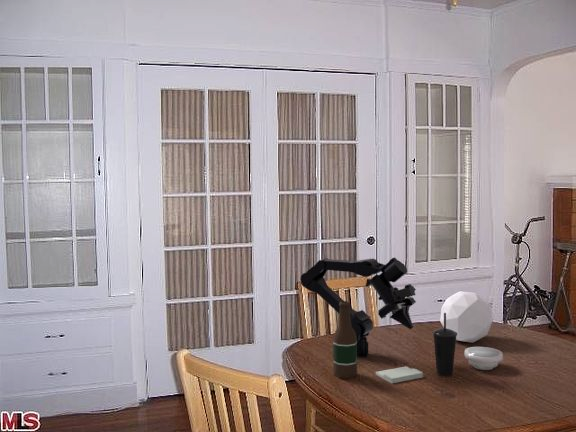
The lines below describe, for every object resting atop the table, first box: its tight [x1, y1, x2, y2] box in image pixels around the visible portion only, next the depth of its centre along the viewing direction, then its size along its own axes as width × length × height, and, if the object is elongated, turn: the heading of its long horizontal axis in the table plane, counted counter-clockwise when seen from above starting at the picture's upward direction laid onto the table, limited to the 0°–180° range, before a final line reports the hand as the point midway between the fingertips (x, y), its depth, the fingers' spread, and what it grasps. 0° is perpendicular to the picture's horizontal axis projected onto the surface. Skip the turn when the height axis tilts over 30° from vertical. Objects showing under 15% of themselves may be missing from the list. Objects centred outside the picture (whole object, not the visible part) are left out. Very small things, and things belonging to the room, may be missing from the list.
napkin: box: [375, 366, 424, 384], centre depth 181 cm, size 12×9×2 cm
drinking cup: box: [432, 313, 457, 377], centre depth 181 cm, size 8×8×20 cm
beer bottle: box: [332, 300, 358, 380], centre depth 182 cm, size 8×8×24 cm
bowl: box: [464, 346, 504, 371], centre depth 188 cm, size 12×12×5 cm
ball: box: [439, 290, 494, 343], centre depth 217 cm, size 19×20×20 cm
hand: (411, 328), depth 189 cm, fingers closed
